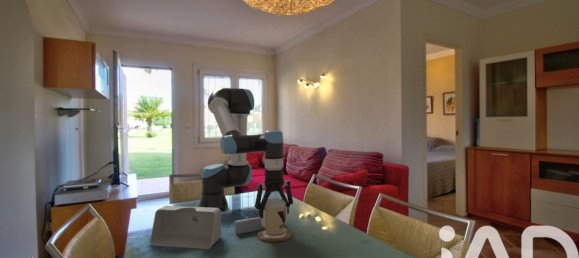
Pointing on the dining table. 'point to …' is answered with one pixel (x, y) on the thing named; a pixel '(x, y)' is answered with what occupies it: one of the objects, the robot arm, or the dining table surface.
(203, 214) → the white open storage bin
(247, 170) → the robot arm
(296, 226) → the dining table surface
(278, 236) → the walnut mat
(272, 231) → the coffee cup
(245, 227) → the grey wall
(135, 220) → the dining table surface
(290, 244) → the dining table surface
